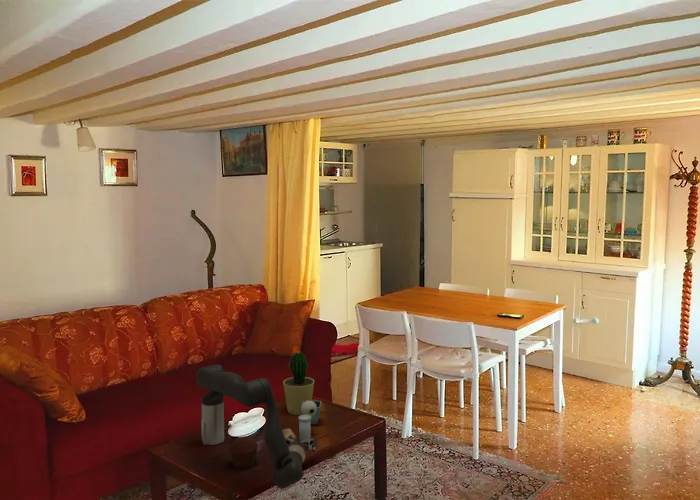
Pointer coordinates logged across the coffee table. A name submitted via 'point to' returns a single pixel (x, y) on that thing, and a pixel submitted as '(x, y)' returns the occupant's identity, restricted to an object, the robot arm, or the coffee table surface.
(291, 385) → the potted cactus
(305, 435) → the vase
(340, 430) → the coffee table surface
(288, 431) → the plinth
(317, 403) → the flower pot
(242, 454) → the muffin
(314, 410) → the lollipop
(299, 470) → the robot arm
